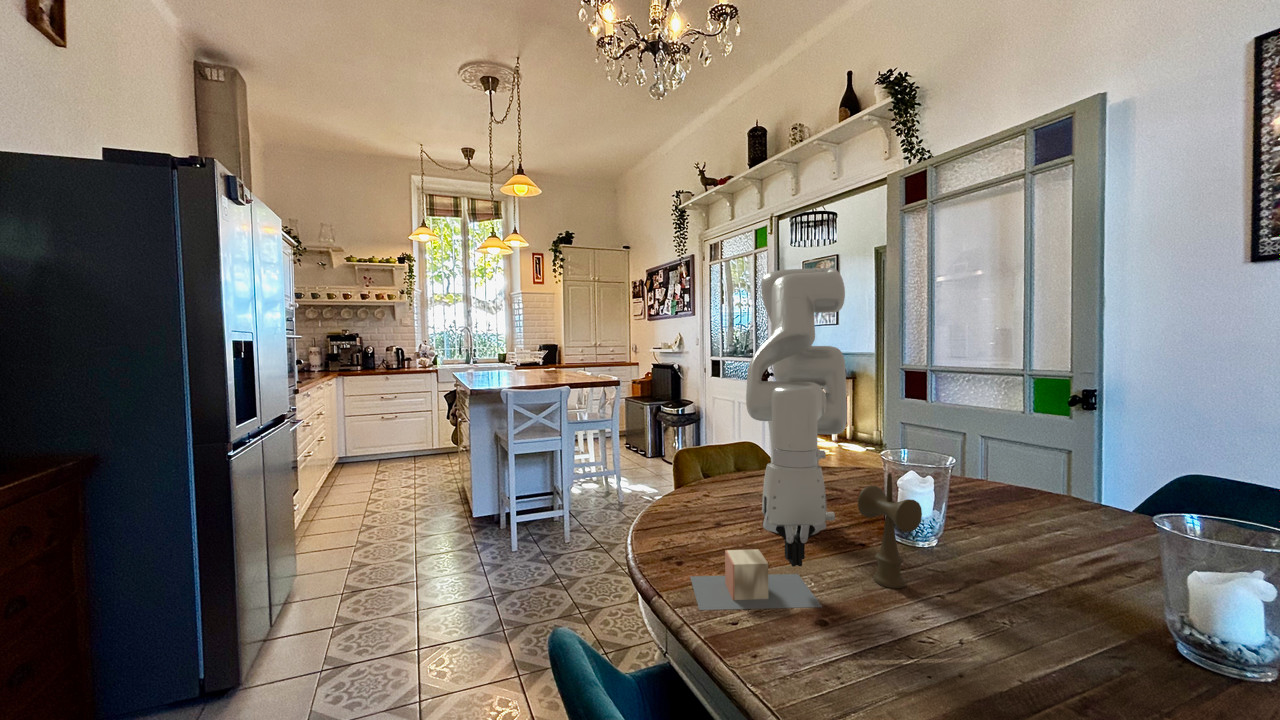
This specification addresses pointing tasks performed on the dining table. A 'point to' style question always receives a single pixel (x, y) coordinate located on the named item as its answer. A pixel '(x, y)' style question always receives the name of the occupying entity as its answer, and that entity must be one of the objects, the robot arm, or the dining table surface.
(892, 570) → the kendama
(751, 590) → the birch cube
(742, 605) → the slate mat
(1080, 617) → the dining table surface
